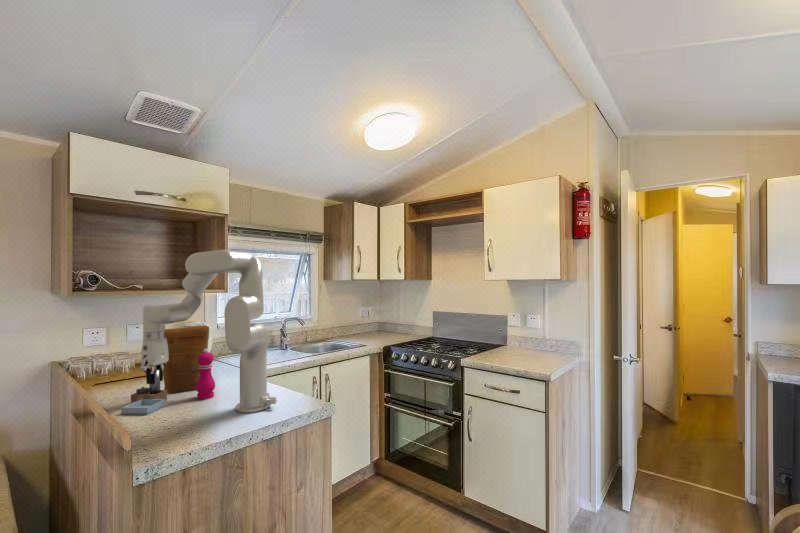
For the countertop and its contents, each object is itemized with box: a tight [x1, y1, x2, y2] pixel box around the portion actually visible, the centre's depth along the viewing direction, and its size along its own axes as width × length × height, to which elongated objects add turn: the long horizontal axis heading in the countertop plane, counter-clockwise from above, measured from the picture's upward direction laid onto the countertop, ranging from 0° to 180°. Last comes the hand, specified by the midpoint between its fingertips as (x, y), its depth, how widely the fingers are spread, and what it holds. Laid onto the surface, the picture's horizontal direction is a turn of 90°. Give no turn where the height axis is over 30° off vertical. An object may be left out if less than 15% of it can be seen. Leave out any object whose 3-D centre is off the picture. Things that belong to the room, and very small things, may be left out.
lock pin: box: [148, 368, 161, 394], centre depth 155 cm, size 4×4×10 cm
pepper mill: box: [195, 349, 216, 400], centre depth 161 cm, size 7×7×20 cm
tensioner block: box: [130, 386, 168, 404], centre depth 155 cm, size 10×7×6 cm
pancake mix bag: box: [163, 325, 210, 394], centre depth 171 cm, size 7×19×28 cm, turn 120°
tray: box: [121, 398, 168, 416], centre depth 146 cm, size 10×10×2 cm
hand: (154, 381), depth 155 cm, fingers closed on lock pin, 3 cm apart
